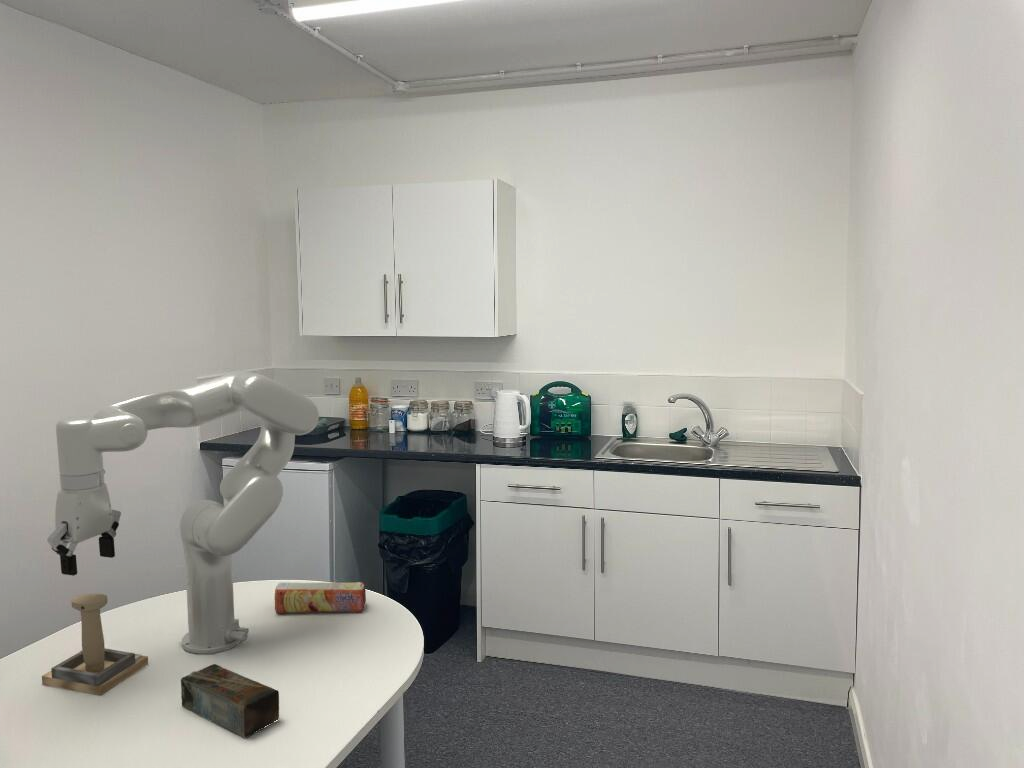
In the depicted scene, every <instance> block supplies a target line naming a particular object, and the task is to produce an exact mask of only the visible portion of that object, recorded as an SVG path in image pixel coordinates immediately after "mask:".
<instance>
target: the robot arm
mask: <svg viewBox="0 0 1024 768" xmlns="http://www.w3.org/2000/svg"><path fill="white" fill-rule="evenodd" d="M239 412H246V413H249V414H252V415H254V416H257V417H258V418H260V425H261V426H260V432H259V435H258V438H257V440H256V442H255V443H254V444H253V446H251V448H250V449H248V451H247V452H245V454H244V455H243V456H242V457H241V458H240V459H239V460H238V462H237V463H236V464H234V465H233V467H232V468H231V469H229V471H227V473H226V474H225V475H224V476H223V478H222V479H221V482H220V485H219V492H220V494H221V496H222V498H223V499H224V500H225V501H226V502H227V504H226V505H224V504H221V503H219V502H217V501H214V500H211V499H200V500H196V501H194V502H192V503H190V504H189V505H187V507H186V508H185V509H184V511H183V513H182V515H181V518H180V522H179V531H180V537H181V543H182V548H183V552H184V560H185V563H184V564H185V584H186V604H187V605H186V606H187V625H188V626H187V627H188V632H187V633H185V634H184V635H183V636H182V638H181V641H180V644H181V647H182V649H183V650H184V651H186V652H188V653H193V654H199V655H200V654H203V655H204V654H205V655H207V654H215V653H219V652H223V651H228V650H229V649H231V648H233V647H235V646H236V645H238V644H239V643H241V642H246V641H247V639H248V636H249V635H248V634H249V633H250V629H249V628H248V627H240V620H239V619H238V618H235V599H234V578H233V577H234V575H233V570H234V568H233V556H232V555H234V554H235V553H237V552H239V551H240V550H241V549H242V548H244V547H245V545H247V544H248V542H250V541H251V539H253V537H254V536H255V535H256V534H257V533H258V531H259V530H260V529H261V528H262V527H263V526H264V525H265V524H266V523H267V522H268V521H269V519H271V517H272V516H273V515H274V513H275V512H277V509H278V508H279V506H280V505H281V503H282V501H283V500H282V499H283V495H284V487H283V484H282V482H281V480H280V478H279V477H278V476H279V474H280V473H281V472H282V471H283V470H284V469H285V468H286V466H287V465H288V463H289V462H290V461H291V458H292V456H293V455H294V449H295V443H296V442H295V440H296V436H303V435H307V434H309V433H311V432H312V431H314V429H315V428H316V427H317V425H318V423H319V419H320V415H319V414H320V411H319V409H318V406H317V405H316V404H315V402H314V401H312V400H311V399H310V398H309V397H307V396H305V395H302V394H301V393H299V392H297V391H294V390H292V389H291V388H289V387H287V386H285V385H283V384H281V383H280V382H278V381H275V380H274V379H272V378H270V377H268V376H265V375H263V374H259V373H255V372H251V371H244V370H240V371H239V370H238V371H233V372H230V373H227V374H224V375H221V376H220V375H219V376H217V377H214V378H210V379H208V380H204V381H201V382H197V383H195V384H190V385H188V386H185V387H181V388H176V389H170V390H166V391H161V392H157V393H152V394H147V395H143V396H137V397H135V398H131V399H127V400H124V401H121V402H117V403H115V404H110V405H107V406H105V407H104V408H101V409H99V410H98V411H97V412H96V413H95V414H94V415H93V416H92V415H75V416H68V417H64V418H61V419H59V420H58V421H57V423H56V424H55V425H56V426H55V432H56V433H55V434H56V435H55V436H56V446H57V457H58V458H57V459H58V468H59V469H58V472H59V485H60V490H59V491H57V495H56V501H55V512H54V513H55V516H54V517H55V518H54V519H55V521H54V522H55V530H54V531H52V532H51V534H50V535H49V536H48V538H47V543H48V544H49V546H50V547H51V550H52V551H53V552H55V553H56V555H57V556H59V561H60V570H61V575H65V576H66V575H67V576H72V577H73V576H76V575H78V565H77V563H78V562H77V555H76V554H74V552H75V550H76V548H77V546H78V544H80V543H83V542H85V541H88V540H90V539H93V538H95V537H97V536H99V537H98V548H99V556H100V557H102V558H111V559H113V558H115V556H116V551H115V548H116V547H115V539H114V538H115V537H116V536H117V530H118V527H119V526H120V520H121V519H120V518H121V516H122V512H121V511H120V510H115V509H113V508H112V505H111V499H110V494H109V490H108V486H107V484H106V482H105V474H106V470H105V468H104V459H103V453H113V452H115V453H116V452H117V453H119V452H120V453H121V452H130V451H133V450H136V449H138V448H140V447H141V446H142V445H143V444H144V443H145V442H146V440H147V438H148V432H149V431H152V430H157V429H164V428H179V429H180V428H183V429H185V428H192V427H193V428H194V427H199V426H202V425H204V424H207V423H211V422H213V421H215V420H218V419H221V418H224V417H227V416H229V415H233V414H236V413H239ZM68 544H69V546H68Z"/></svg>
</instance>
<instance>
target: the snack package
mask: <svg viewBox="0 0 1024 768" xmlns="http://www.w3.org/2000/svg"><path fill="white" fill-rule="evenodd" d="M366 596H367V595H366V586H365V584H364V583H363V582H360V581H358V582H283V581H282V582H277V585H276V586H275V589H274V611H275V612H276V614H285V613H286V614H289V613H292V614H293V613H295V614H296V613H297V614H298V613H301V614H302V613H363V612H364V610H365V606H366V604H367V603H366V602H367V598H366Z"/></svg>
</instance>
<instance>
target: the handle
mask: <svg viewBox="0 0 1024 768" xmlns="http://www.w3.org/2000/svg"><path fill="white" fill-rule="evenodd" d="M70 602H71V608H73V609H74V610H76V611H79V612H80V618H81V619H80V621H81V651H82V652H83V658H84V662H85V664H86V665H85V668H86V671H88V672H92V673H94V672H99V671H101V669H103V668H104V662H103V661H104V654H105V648H106V647H105V637H104V633H103V632H104V630H103V625H102V618H101V609H103V608H104V607H105V606H107V604H108V595H105V594H103V593H87V594H79V595H77V596H75V597H73V598H72V599H71V601H70Z"/></svg>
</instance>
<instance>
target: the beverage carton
mask: <svg viewBox="0 0 1024 768" xmlns="http://www.w3.org/2000/svg"><path fill="white" fill-rule="evenodd" d="M180 685H181V686H180V687H181V690H180V691H181V693H180V694H181V696H180V697H181V706H182V707H183V708H184V709H187V710H189V711H191V712H192V713H195V714H197V715H198V716H200V717H202V718H205V719H206V720H209V721H210V720H211V721H210V722H212V723H214V722H215V724H216V723H217V725H219V726H220V727H223V728H225V729H227V730H229V731H231V732H233V733H235V734H237V735H239V736H241V737H243V738H244V737H246V738H248V737H250V736H252V735H254V734H255V733H254V732H256V731H258V730H259V729H261V728H264V727H265V726H267V725H269V724H271V723H273V722H274V721H276V720H278V719H279V720H280V692H279V690H278V689H275V688H272V687H271V686H268V685H267V684H266V685H265V684H263V683H260V682H259V681H256V680H253V679H252V678H249V677H246V676H244V675H241V674H239V673H237V672H234V671H233V670H230V669H227V668H225V667H222V666H221V665H218V664H217V663H213V664H211V665H209V666H206V667H204V668H201V669H199V670H196V671H195V670H194V671H192V672H190V673H189V674H187V675H185V676H183V677H182V678H181V679H180ZM273 724H274V723H273ZM271 725H272V724H271ZM269 726H270V725H269ZM267 727H268V726H267ZM264 729H265V728H264ZM261 730H262V729H261ZM258 732H259V731H258ZM253 733H254V734H253ZM256 733H257V732H256ZM251 734H252V735H251ZM249 735H250V736H249ZM247 736H248V737H247Z"/></svg>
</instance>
